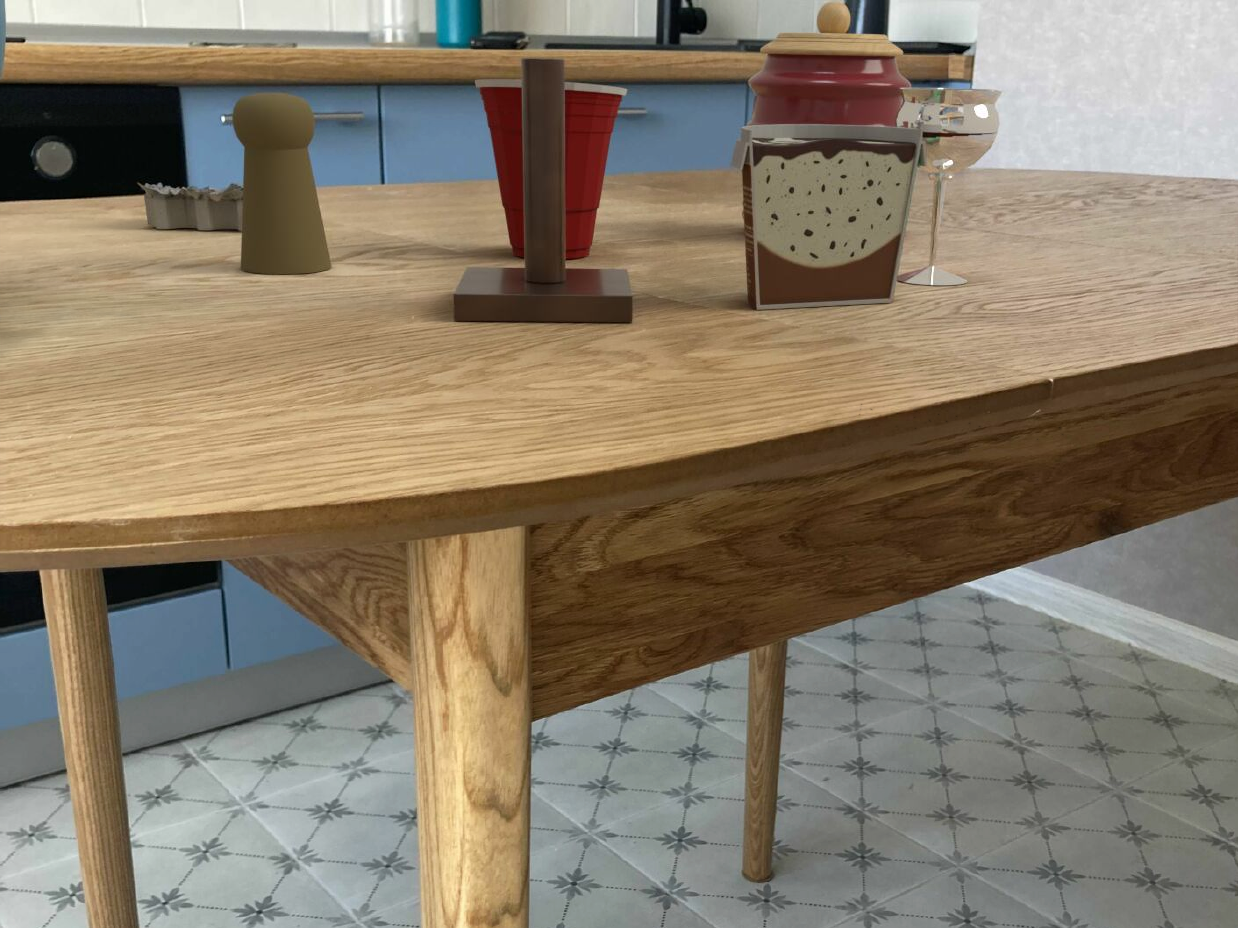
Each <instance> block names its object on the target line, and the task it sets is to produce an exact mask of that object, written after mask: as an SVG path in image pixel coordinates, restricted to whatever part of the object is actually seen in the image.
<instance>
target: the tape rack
mask: <svg viewBox="0 0 1238 928" xmlns="http://www.w3.org/2000/svg"><path fill="white" fill-rule="evenodd" d="M565 62H566V60H565V58H554V57H553V58H551V57H548V58H547V57H522V58H521V59H520V69H521V71H520V72H521V73H520V75H521V78H520V79H521V80H522V137H523V197H524V256H525V257H524V267H495V266H493V267H492V266H491V267H489V266H488V267H487V266H486V267H485V266H482V267H481V266H467V267H466V268H465V271H464V272H463V274H462V276H461V279H460V280H459V283H458V284H457V286H456V289H455V291H454V292H453V294H452V302H453V320H454V321H455V322H513V323H514V322H516V323H517V322H518V323H519V322H521V323H524V322H525V323H527V322H529V323H612V324H613V323H614V324H615V323H616V324H617V323H618V324H622V323H623V324H625V323H626V324H627V323H628V324H629V323H631V324H632V323H633V316H634V315H633V313H634V312H633V311H634V310H633V308H634V304H633V303H634V297H633V292H632V287H631V282H630V278H629V273H628V269H627V268H579V267H578V268H576V267H575V268H572V267H571V268H570V267H569V268H568V267H566V266H567V265H566V262H567V261H566V260H567V259H566V256H565V82H566V81H565V80H566V79H565V78H566V77H565V75H566V72H565V69H566V67H565V65H566V63H565Z"/></svg>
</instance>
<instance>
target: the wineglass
mask: <svg viewBox="0 0 1238 928" xmlns="http://www.w3.org/2000/svg"><path fill="white" fill-rule="evenodd" d="M898 89H899V91H900V93H901V96H902V99H903V101H902V105H901V107H900V108H899V110H898V111H897V114H896V118H895V121H894V123H895V127H902V128H915V129H923V134H922V141H925V144H926V158H927V166H918V165H917V168H920V169H921V170H922V171H925V173H928V175H927V176H928V178H929V180H930V181H933V182H934V183H933V197H932V198H933V199H932V212H931V213H932V215H931V229H930V243H929V244H930V246H929V261H928V266H926V267H922V268H918V269H916V270H915V269H914V270H912V271H908V272H905V273H901V274H898V276H897V282H902V283H907V284H914V285H924V286H956V285H957V286H959V285H964V284H967V283H968V280H967V279H965V278H963V277H961V276H959V275H956V274H954V273H951V272H948V271H946V270H945V269H941V268H938V267H937V266H935V265H936V258H937V251H938V245H939V238H940V237H939V236H940V231H941V223H942V216H943V209H944V204H945V203H944V202H945V196H946V195H945V194H946V189H947V188H946V187H947V183H948V182H950V181H951V182H952V180H953V179H954V178H955V174H957V173H959V172H961V171H963V170H965V169H967V168H969V167H971V166H973V165H975V164H976V163H978V162H979V161H980V160H981V158H982V157H984V156H985V155H986V153H988V152H989V151H990V150H991V149H992V147H993V145H994V142H995V140H996V139H997V135H998V131H999V127H1000V115H999V112H998V110H997V107H996V103H997V102H998V100H999V98H1000V96H1002V92H1003V90H1001V89H989V88H988V89H987V88H962V87H961V88H960V87H955V88H954V87H911V88H898Z"/></svg>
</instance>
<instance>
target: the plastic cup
mask: <svg viewBox="0 0 1238 928" xmlns="http://www.w3.org/2000/svg"><path fill="white" fill-rule="evenodd" d="M474 83H475V87H476V89H479V94H480V96H481V100H482V102H483V109H484V110H483V111H484V112H485V114H486V115H485V116H486V121H487V122H486V123H487V127H488V129H489V134H490V138H491V140H490V141H491V144H492V151H493V158H494V163H495V169H496V170H495V171H496V175H497V182H498V188H499V193H500V199H501V206H502V207H503V210H504V215H505V216H504V217H505V221H506V227H507V228H506V229H507V234H508V239H509V244H510V246H511V250H512V254H513V255H514V256H516V257H520V258H525V256H524V197H523V137H522V79H516V78H515V79H514V78H513V79H511V78H507V79H506V78H485V79H483V78H481V79H475V80H474ZM627 93H628V88H624V87H620V86H611V85H604V84H594V83H582V82H571V81H570V82H569V81H565V256H566V260H568V259H570V260H571V259H580V258H583V257H584V258H585V257H588V256H589V255H590V253H591V247H592V245H593V241H594V233H595V227H596V221H597V214H598V209H599V208H600V204H601V198H602V192H603V187H604V186H603V185H604V179H605V173H606V168H607V167H606V166H607V161H608V155H609V149H610V142H611V137H612V133H614V127H615V121H616V118H617V117H618V113H619V112H618V111H619V107H620V106H621V102H623V97H626V96H627Z"/></svg>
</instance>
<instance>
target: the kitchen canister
mask: <svg viewBox="0 0 1238 928" xmlns="http://www.w3.org/2000/svg"><path fill="white" fill-rule="evenodd" d="M850 25H851V13H850V10H849V8H848V6H847V5H846V4H845V3H844V2H841V1H829V2H826V3H823V5H822V6H821V7H820V9H819V10H818V12H817V16H816V28H817V30H818V32H779V33H778V34H777V36H776V37H775V38H774V39H772V40H771V41H770V42H768V43H766V44H765V45H763V46H762V47H760V49H759V51H760V52H759V53H760V54H762V55H763V54H764V55H766V58H765V60H764V63H763V66H762V67H761V70H759V71H758V72H757V73H756V74H754V75H752V76H751V77H750V78H749V79H748V80H747V84H748V86H749V87H750V89H751V90H752V91H753V96H754V97H753V99H754V100H753V108H752V115H751V119H750V120H749V121H748V122H747V123H746V124H745V126H753V125H778V124H824V125H862V126H885V127H895V123H894V121H895V118H896V114H897V111H898V110H899V108H900V107H901V105H902V103H903V99H902V96H901V93H900V91H899V89H898V88H912V84H911V82H910V81H909V80H908V79H907V78H906V77H904V76H903V75H902V74H901V73H900V71H899V68H898V64H897V63H898V62H897V59H896V57H902V56H903V55H904V51H903V50H902V49H901V48H900V47H899V46H898V45H896V44H894V43H893V42H892V41H891V40H889V37H888V35H886V34H879V33H878V34H877V33H875V34H874V33H847V31H848V30H849V28H850ZM741 216H742V219H743V221H744V205H743V202H742V211H741ZM743 228H744V229H743V230H744V232H745V227H744V226H743Z"/></svg>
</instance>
